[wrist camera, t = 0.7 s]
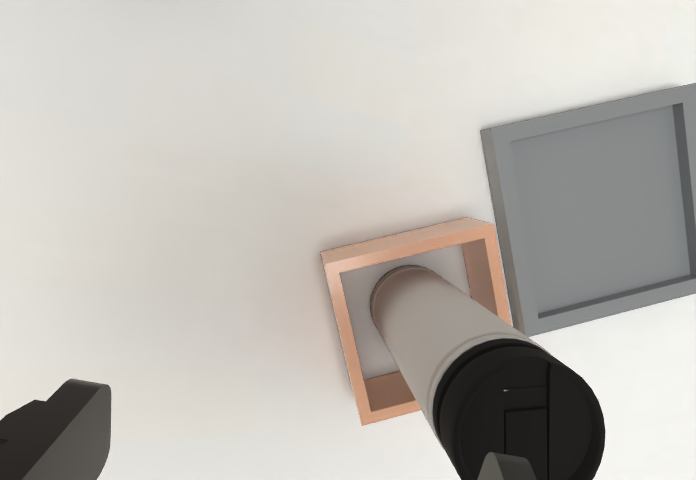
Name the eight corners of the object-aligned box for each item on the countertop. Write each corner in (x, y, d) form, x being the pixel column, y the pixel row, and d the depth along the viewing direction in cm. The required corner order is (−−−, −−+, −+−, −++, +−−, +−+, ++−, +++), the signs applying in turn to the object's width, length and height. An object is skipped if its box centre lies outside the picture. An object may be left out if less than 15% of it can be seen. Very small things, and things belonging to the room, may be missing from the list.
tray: (480, 130, 36) (491, 128, 34) (674, 87, 37) (695, 82, 35) (514, 329, 39) (526, 337, 37) (695, 282, 40) (716, 288, 38)
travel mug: (370, 349, 38) (456, 542, 18) (368, 266, 37) (456, 374, 17) (448, 343, 38) (613, 524, 18) (448, 262, 37) (622, 361, 18)
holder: (320, 251, 36) (324, 264, 31) (467, 217, 37) (493, 223, 32) (353, 392, 38) (362, 425, 33) (492, 356, 39) (521, 383, 34)
